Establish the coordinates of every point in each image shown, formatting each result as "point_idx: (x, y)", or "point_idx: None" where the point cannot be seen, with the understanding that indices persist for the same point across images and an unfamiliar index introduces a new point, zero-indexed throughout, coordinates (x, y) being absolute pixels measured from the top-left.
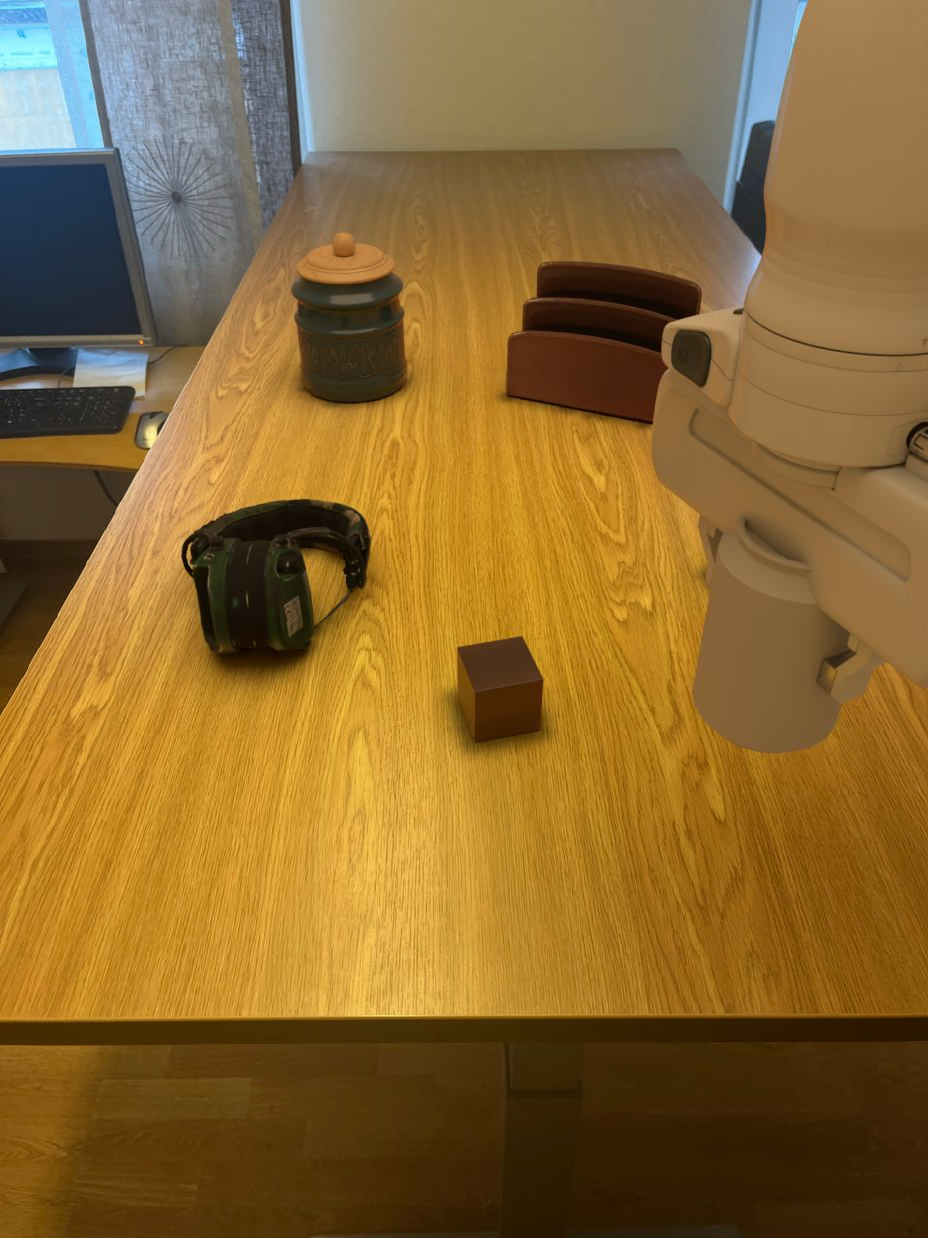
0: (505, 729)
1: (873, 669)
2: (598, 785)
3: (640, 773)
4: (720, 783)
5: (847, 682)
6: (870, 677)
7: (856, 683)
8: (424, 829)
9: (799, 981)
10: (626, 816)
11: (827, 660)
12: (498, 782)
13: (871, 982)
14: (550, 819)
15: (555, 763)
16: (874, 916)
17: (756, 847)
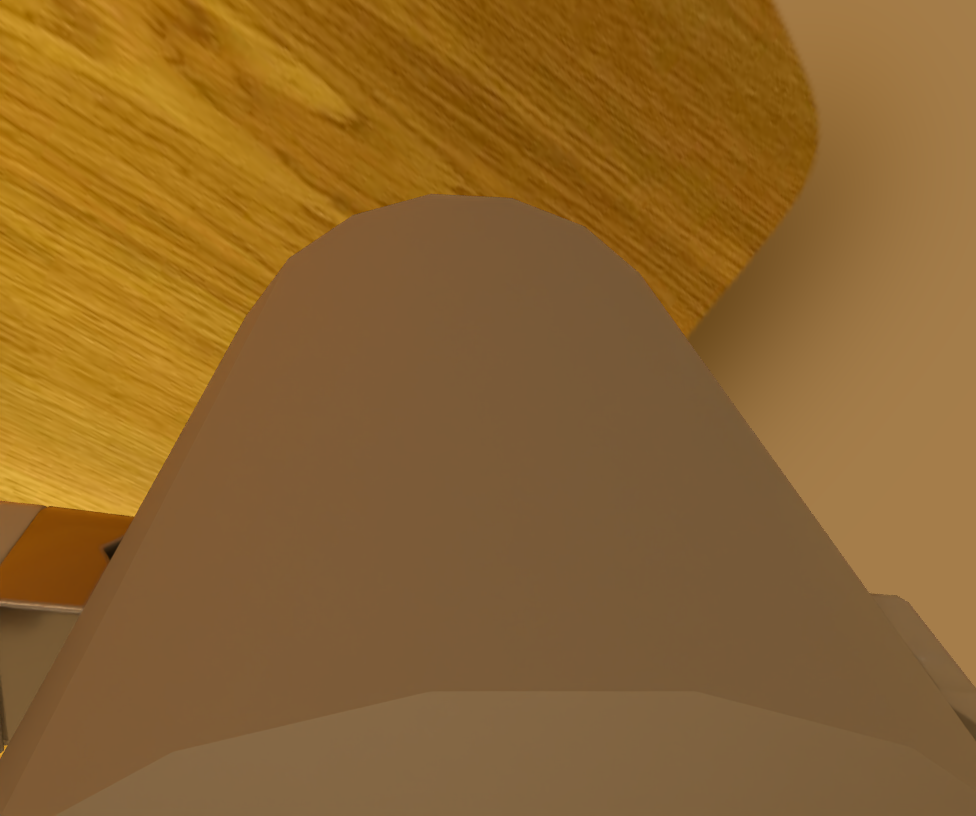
0: None
1: (968, 679)
2: (145, 271)
3: (154, 172)
4: (267, 33)
5: None
6: (941, 647)
7: None
8: None
9: (679, 273)
10: (244, 277)
11: None
12: (51, 424)
13: (762, 174)
14: (181, 398)
15: (48, 306)
16: (697, 45)
17: (447, 112)
